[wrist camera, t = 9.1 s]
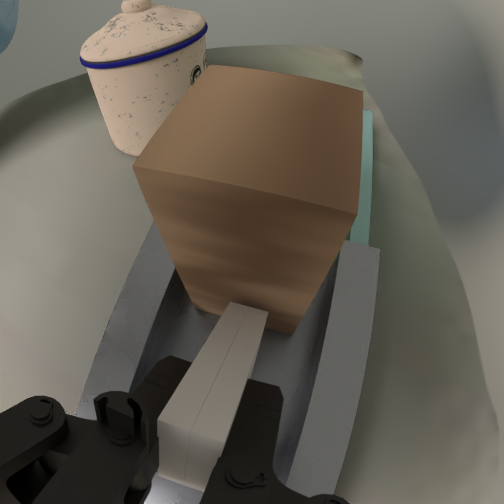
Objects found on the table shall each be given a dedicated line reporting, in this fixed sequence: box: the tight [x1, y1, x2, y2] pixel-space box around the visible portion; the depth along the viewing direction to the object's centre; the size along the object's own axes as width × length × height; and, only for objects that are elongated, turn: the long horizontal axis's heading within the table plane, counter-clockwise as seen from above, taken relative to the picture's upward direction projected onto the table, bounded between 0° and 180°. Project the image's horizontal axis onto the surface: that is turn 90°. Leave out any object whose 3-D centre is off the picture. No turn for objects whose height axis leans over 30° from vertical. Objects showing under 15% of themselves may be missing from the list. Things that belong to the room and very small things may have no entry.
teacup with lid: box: [80, 0, 208, 156], centre depth 19 cm, size 12×9×12 cm
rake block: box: [132, 65, 363, 335], centre depth 12 cm, size 5×5×10 cm
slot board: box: [76, 221, 380, 504], centre depth 13 cm, size 12×16×4 cm
